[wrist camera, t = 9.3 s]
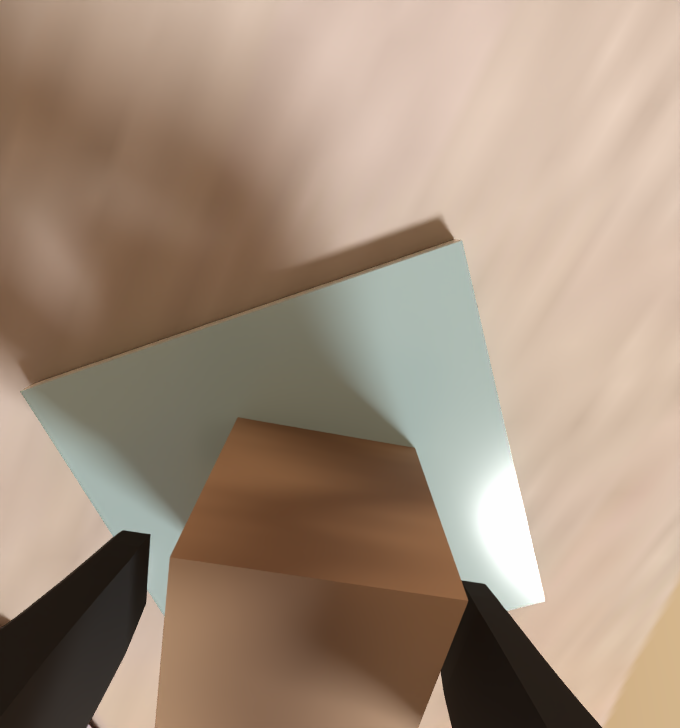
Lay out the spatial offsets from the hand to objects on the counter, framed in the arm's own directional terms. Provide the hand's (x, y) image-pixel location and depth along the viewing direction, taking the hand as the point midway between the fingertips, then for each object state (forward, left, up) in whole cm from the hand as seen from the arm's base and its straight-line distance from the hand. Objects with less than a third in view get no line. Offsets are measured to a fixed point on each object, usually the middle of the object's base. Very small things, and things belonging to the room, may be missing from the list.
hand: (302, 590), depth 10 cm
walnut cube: (0, 0, -3) cm, 3 cm away
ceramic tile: (0, 0, -3) cm, 3 cm away
